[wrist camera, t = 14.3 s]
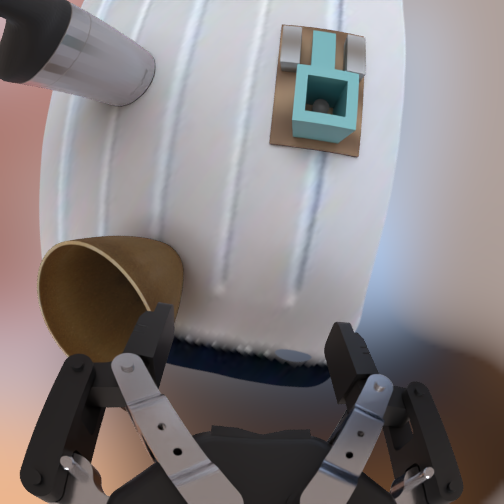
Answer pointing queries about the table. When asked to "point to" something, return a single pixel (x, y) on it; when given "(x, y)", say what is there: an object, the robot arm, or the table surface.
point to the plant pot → (105, 291)
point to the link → (325, 94)
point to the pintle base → (288, 102)
